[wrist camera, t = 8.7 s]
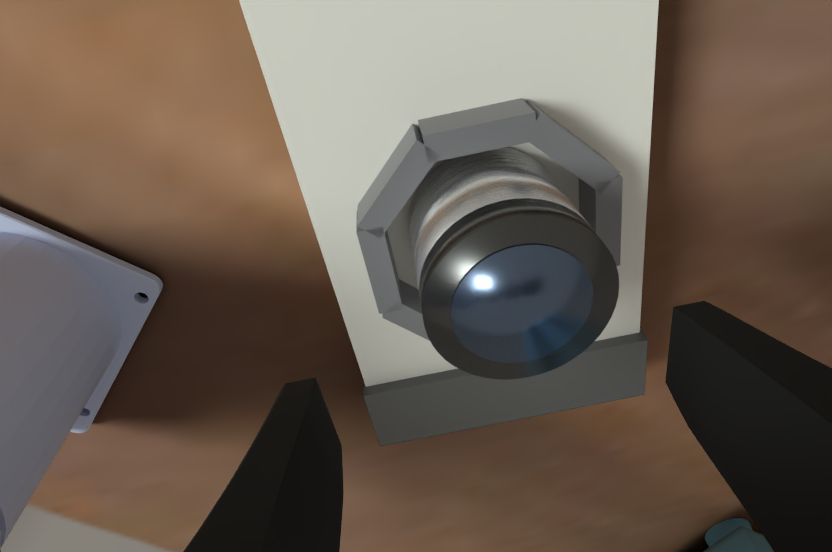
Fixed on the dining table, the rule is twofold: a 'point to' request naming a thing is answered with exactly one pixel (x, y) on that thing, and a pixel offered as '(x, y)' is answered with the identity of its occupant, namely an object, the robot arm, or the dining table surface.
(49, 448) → the robot arm
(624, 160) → the camera body
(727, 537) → the teakettle
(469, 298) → the lens
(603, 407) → the dining table surface
